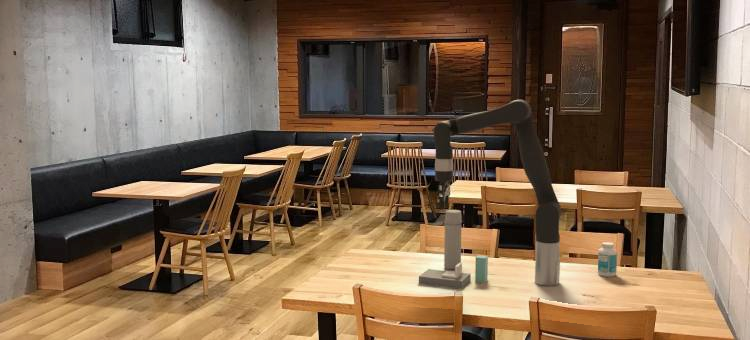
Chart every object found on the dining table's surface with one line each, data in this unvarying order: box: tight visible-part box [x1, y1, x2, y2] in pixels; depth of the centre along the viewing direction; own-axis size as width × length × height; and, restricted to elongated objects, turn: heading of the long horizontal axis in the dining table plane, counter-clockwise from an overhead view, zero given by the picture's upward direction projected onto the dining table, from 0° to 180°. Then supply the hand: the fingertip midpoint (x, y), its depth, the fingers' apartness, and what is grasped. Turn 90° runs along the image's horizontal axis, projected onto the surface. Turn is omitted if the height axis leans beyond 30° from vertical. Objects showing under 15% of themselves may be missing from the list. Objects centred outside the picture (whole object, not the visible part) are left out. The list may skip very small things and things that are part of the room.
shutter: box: [442, 262, 463, 279], centre depth 299 cm, size 6×7×5 cm
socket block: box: [418, 268, 471, 290], centre depth 300 cm, size 18×12×3 cm, turn 67°
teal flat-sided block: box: [474, 254, 489, 283], centre depth 302 cm, size 4×4×10 cm
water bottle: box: [443, 209, 463, 271], centre depth 321 cm, size 9×8×25 cm
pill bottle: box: [597, 241, 618, 278], centre depth 310 cm, size 8×7×14 cm
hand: (444, 207), depth 311 cm, fingers open, 8 cm apart
